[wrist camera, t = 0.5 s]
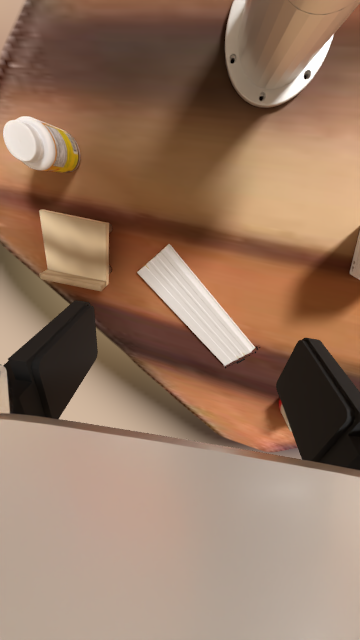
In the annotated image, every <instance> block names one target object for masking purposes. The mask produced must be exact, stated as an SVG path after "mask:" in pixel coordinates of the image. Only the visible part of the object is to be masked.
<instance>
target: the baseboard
mask: <svg viewBox="0 0 360 640" xmlns="http://www.w3.org/2000/svg"><path fill="white" fill-rule="evenodd" d="M137 273H138V274H139V275H140V276H141V277H142V278H143V279H144V280H145V282H146V283H147V284H148V285H149V286H150V287H151V288H152V289H153V290H154V291H155V292H156V293H157V294H158V295H159V296H160V298H161V299H162V300H163V301H164V302H165V303H166V304H167V305H168V306H169V307H170V308H171V309H172V310H173V311H174V312H175V313H176V315H177V316H178V317H179V318H180V319H181V320H182V321H183V322H184V323H185V324H186V325H187V326H188V327H189V328H190V329H191V330H192V332H193V333H194V334H195V335H196V336H197V337H198V338H199V339H200V340H201V341H202V342H203V343H204V344H205V345H206V346H207V347H208V349H209V350H210V351H211V352H212V353H213V354H214V355H215V356H216V357H217V358H218V359H219V360H220V361H221V362H222V363H223V364H224V366H225V365H227V364H229V363H231V362H232V361H234V360H237V359H238V358H240V357H243V356H244V355H246V354H248V353H250V352H251V351H252V350H253V349H255V347H254V346H253V344H252V343H251V342H250V341H249V340H248V338H247V337H246V336H245V335H244V333H243V332H242V331H241V330H240V329H239V327H238V326H237V325H236V324H235V323H234V321H233V320H232V319H231V318H230V317H229V315H228V314H227V313H226V312H225V310H224V309H223V308H222V307H221V306H220V304H219V303H218V302H217V301H216V300H215V298H214V297H213V296H212V295H211V293H210V292H209V291H208V290H207V289H206V287H205V286H204V285H203V284H202V283H201V281H200V280H199V279H198V278H197V277H196V275H195V274H194V273H193V272H192V270H191V269H190V268H189V267H188V266H187V264H186V263H185V262H184V261H183V260H182V258H181V257H180V256H179V255H178V254H177V252H176V251H175V250H174V249H173V247H172V246H171V245H170V244H168V245H167V246H166V247H165V248H164V249H163V250H161V251H160V252H159V253H158V254H157V255H156V256H155V257H154V258H152V259H151V260H150V261H149V262H148V263H147V264H146V265H145V266H143V267H142V268H141V269H140V270H139V271H138V272H137ZM256 348H257V346H256ZM259 348H260V347H259ZM257 350H258V349H257ZM255 353H256V352H255ZM245 358H246V357H245ZM243 360H245V359H244V358H243ZM243 360H242V359H241V360H239V361H237V364H238V362H241V361H243ZM235 363H236V362H235ZM233 364H234V363H233ZM231 365H232V364H231ZM229 366H230V365H229ZM227 367H228V366H227ZM225 368H226V367H225Z"/></svg>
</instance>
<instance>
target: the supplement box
mask: <svg viewBox="0 0 360 640" xmlns="http://www.w3.org/2000/svg"><path fill="white" fill-rule="evenodd" d="M349 274H351V275H352V276H354V277H356V278H357V279H359V280H360V232H359V236H358V240H357V244H356V248H355V252H354V256H353V260H352V265H351V269H350V273H349Z"/></svg>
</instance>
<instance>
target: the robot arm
mask: <svg viewBox="0 0 360 640" xmlns="http://www.w3.org/2000/svg"><path fill="white" fill-rule="evenodd" d="M359 4H360V0H234V1H233V3H232V6H231V10H230V14H229V18H228V22H227V28H226V34H225V61H226V67H227V71H228V75H229V78H230V80H231V83H232V85H233V87H234V88H235V90H236V91H237V93H238V94H239V95H240V96H241V97H242V98H243V99H244V100H245V101H246V102H248V103H250V104H251V105H254V106H257V107H262V108H270V107H275V106H279V105H281V104H283V103H285V102H287V101H289V100H291V99H292V98H293V97H295V96H296V95H297V94H298V93H300V92H301V91H302V90H303V89H304V88H305V87H306V86H307V85H308V83H309V82H310V81H311V80H312V79H313V77H314V76H315V74H316V73H317V71H318V70H319V68H320V67H321V65H322V63H323V61H324V59H325V57H326V55H327V53H328V51H329V48H330V45H331V42H332V39H333V36H334V33H335V32H336V31H337V30H338V29H339V27H340V26H341V25H342V24H343V23H344V21H345V20H346V19H347V18H348V17H349V16H350V14H351V13H352V12H353V11H354V10H355V9H356V7H357V6H358V5H359ZM231 60H234V63H233V64H231V62H230V61H231ZM304 75H306V77H307V78H306V80H305V79H304ZM259 97H262V98H263V100H262V101H260V100H259ZM97 352H98V351H97V339H96V326H95V314H94V307H93V306H91V305H90V303H89V302H83V301H77V300H76V301H74V302H73V303H72V304H70V305H69V306H68V307H67V308H66V309H65V310H64V311H62V312H61V313H60V314H59V315H58V316H57V317H56V318H54V319H53V320H52V321H51V322H50V323H49V324H48V325H46V326H45V327H44V328H43V329H42V330H41V331H39V332H38V333H37V334H36V335H35V336H34V337H33V338H31V339H30V340H29V341H28V342H27V343H26V344H25V345H23V346H22V347H21V348H20V349H19V350H18V351H17V352H15V353H14V354H13V355H12V356H11V357H10V358H9V359H8V360H9V361H8V362H7V363H6V364H5V365H4V366H2V365H1V364H0V640H360V392H359V391H358V389H357V388H356V387H355V385H354V384H353V383H352V382H351V380H350V379H349V378H348V376H347V375H346V374H345V372H344V371H343V370H342V368H341V367H340V366H339V365H338V363H337V362H336V361H335V359H334V358H333V357H332V355H331V354H330V353H329V352H328V350H327V349H326V348H325V346H324V345H323V344H322V342H321V341H320V340H316V339H310V338H304V339H302V340H299V341H298V343H297V344H296V346H295V348H294V350H293V352H292V354H291V356H290V358H289V360H288V362H287V364H286V366H285V368H284V370H283V371H282V373H281V375H280V377H279V379H278V381H277V385H276V388H277V392H278V394H279V397H280V400H281V403H282V405H283V408H284V411H285V414H286V416H287V419H288V422H289V425H290V427H291V430H292V433H293V436H294V438H295V441H296V444H297V447H298V449H299V452H300V455H301V457H302V460H301V459H296V458H290V457H284V456H278V455H273V454H267V453H260V452H255V451H249V450H244V449H238V448H232V447H226V446H220V445H214V444H208V443H202V442H196V441H190V440H184V439H178V438H172V437H167V436H161V435H154V434H148V433H142V432H135V431H130V430H123V429H117V428H111V427H105V426H99V425H93V424H87V423H80V422H73V421H67V420H59V417H60V415H61V414H62V412H63V411H64V409H65V408H66V406H67V404H68V403H69V401H70V400H71V398H72V397H73V395H74V393H75V392H76V390H77V388H78V387H79V385H80V384H81V382H82V381H83V379H84V377H85V376H86V374H87V373H88V371H89V370H90V368H91V366H92V365H93V363H94V361H95V360H96V358H97Z"/></svg>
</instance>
